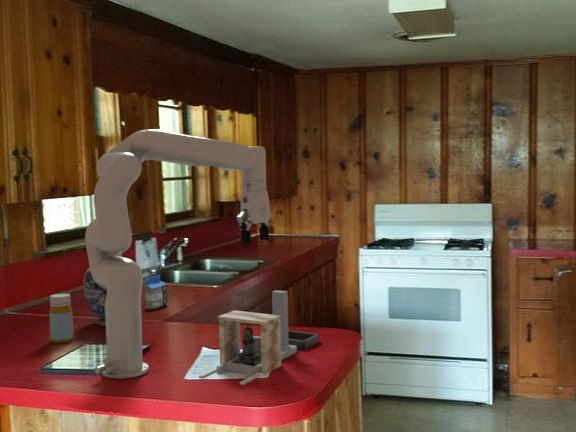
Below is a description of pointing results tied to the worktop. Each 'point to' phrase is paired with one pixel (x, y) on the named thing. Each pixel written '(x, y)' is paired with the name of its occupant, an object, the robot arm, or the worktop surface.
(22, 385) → the worktop surface
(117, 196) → the robot arm
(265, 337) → the tunnel
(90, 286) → the decorative vase
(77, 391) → the worktop surface
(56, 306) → the bottle
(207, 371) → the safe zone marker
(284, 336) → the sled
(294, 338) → the dark grey flat tray
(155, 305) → the label tape box
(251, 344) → the dark grey upright piece
